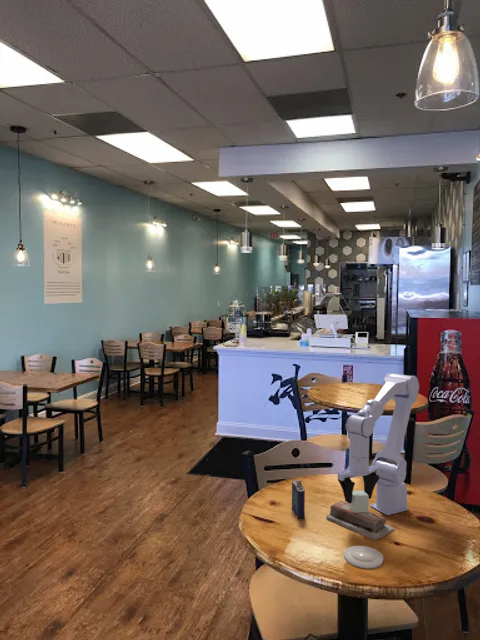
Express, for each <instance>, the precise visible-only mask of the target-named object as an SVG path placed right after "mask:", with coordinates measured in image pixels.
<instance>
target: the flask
mask: <svg viewBox="0 0 480 640" xmlns="http://www.w3.org/2000/svg"><path fill="white" fill-rule="evenodd" d="M302 482H303V480H298V479H296V480H294V481H292V482H291V510H292V511H293V513H294V515H295V516H296V518H297V520H299V521H303V520H305V518H306V515H305V513H306V512H305V504H306V503H305V498H306V496H305V494H306V491H305V490H306V489H305V487H304V485H303V484H302Z"/></svg>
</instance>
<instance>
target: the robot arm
mask: <svg viewBox="0 0 480 640" xmlns="http://www.w3.org/2000/svg"><path fill="white" fill-rule="evenodd" d="M384 376H385V377H384V378H383V381H382V387H381V388H380V390H379V392H378V393H377V394H376V395H375V397H374V398H373V399H368V400H367V401H366V402H365V404H364V405H363V406H362V407H361V408H360V409H359V411H357V412H356V414H352V415H349V417H348V418H347V419H346V424H345V430H346V433H347V438H348V439H349V448H348V449H349V453H348V454H349V457H348V458H349V459H348V460H349V461H348V466H347V468H346V469H343V470H342V471H339V472H337V481H338V483H339V484H340V487H341V489H342V494H343V496H344V502H348V503H351V502H352V492H353V491H354V487H355V485H356V483H355V482H354V481H352V478H353V479H354V478H357V477H362V479H363V480H362V481H363V491H364V492H365V493H367V494H368V495H369V500H370V499H372V495H373V493H374V489H375V487H376V489H375V490H376V491H375V492H376V495H375V498H376V499H375V503H371V504H370V505H369V507H371V508H373V509H375V510H376V511H379V512H380V513H382V514H384V515H385V516H390V515H394V514H398V513H402V512H406V511H408V510H409V507H407V506H408V504H407V503H408V489H407V485H406V483H405V482H404V481H405V479H406V476H407V460H405V458H404V457H403V455H402V454H401V453H402V450H403V449H402V448H403V445H404V440H405V437H406V436H405V435H406V433H407V427H408V423H409V419H410V415H411V411H412V407H413V404H415V403H416V402H417V399H418V394H419V391H420V390H419V389H420V384H419V380H418V377H417V376H416V375H409V374H408V375H406V374H399V373H392V372H388V373H387V374H386V375H384ZM390 400H393V401H394V402H395V403H394V404H395V405H394V409H393V413H392V416H391V420H390V425H389V428H388V429H389V430H388V433H387V436H386V440H385V445H384V449H382V450H381V451H379V452H376V454H375V457H374V459H373V461H372V463H371V465H369V463H370V462H369V461H370V436H371V435H372V434H373V432H374V428H375V426H376V422H377V421H378V420H379V419H380V417H381V416H382V415H383V414H384V407H385V405H386V404H388V403H389V401H390Z"/></svg>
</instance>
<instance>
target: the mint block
mask: <svg viewBox="0 0 480 640" xmlns="http://www.w3.org/2000/svg"><path fill="white" fill-rule="evenodd" d="M369 500H370V499H369V495H368V494H367V493H365V492H364V489H363V490H353V492H352V502H351V503H349V507H350V509H351V510H352V511H353V512H354V513H360V512H368V511H369V508H370V505H369V504H370V503H369Z"/></svg>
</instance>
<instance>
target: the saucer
mask: <svg viewBox="0 0 480 640" xmlns="http://www.w3.org/2000/svg"><path fill="white" fill-rule="evenodd" d="M343 557H344V560H345V561H346V562H347V563H348V564H349V565H352V566H354V567H356V568H360V569H367V570H368V569H376V568H379V567H381V566H382V565H383V563H384V555H383V554H382V553H381V551H379V550H378V549H375V548H373V547H370V546H366V545H352V546H351V545H350V546H349V547H346V548H345V550H344V551H343Z"/></svg>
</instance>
